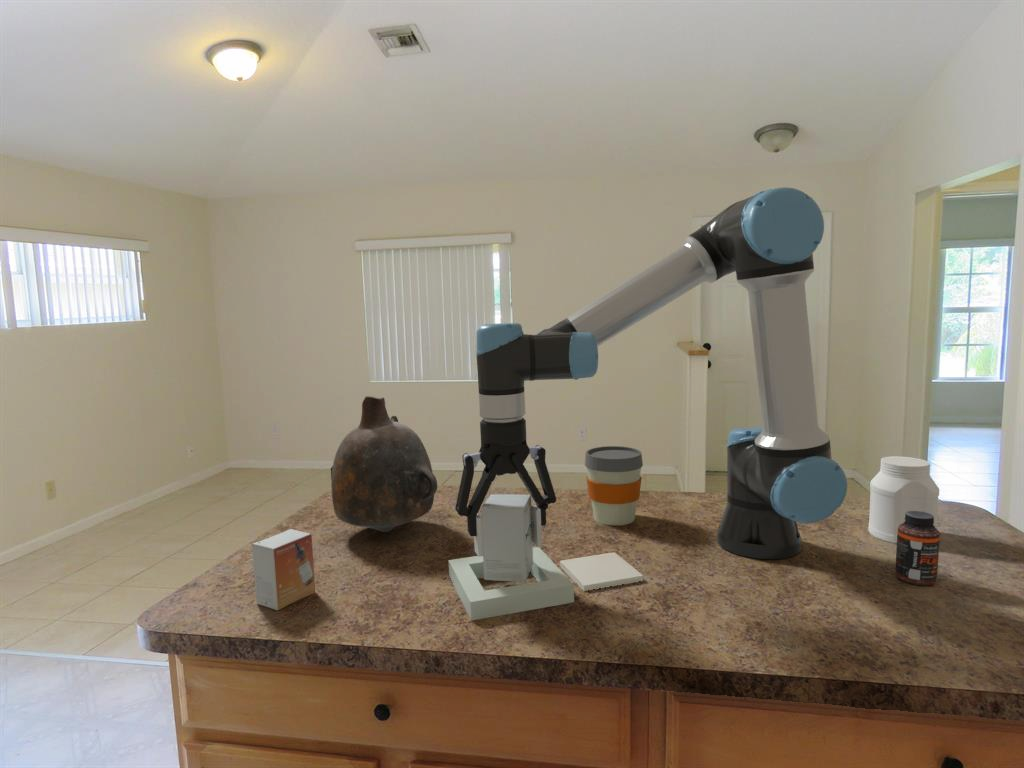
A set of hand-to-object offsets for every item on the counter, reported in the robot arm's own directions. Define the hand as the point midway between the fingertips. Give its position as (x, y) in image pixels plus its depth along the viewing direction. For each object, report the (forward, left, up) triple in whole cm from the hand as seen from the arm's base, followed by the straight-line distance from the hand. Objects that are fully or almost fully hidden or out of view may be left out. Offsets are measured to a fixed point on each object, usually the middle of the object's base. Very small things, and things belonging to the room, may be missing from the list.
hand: (508, 548), depth 106 cm
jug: (+17, -36, -7) cm, 41 cm away
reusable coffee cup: (-32, -25, -7) cm, 41 cm away
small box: (+36, -10, -7) cm, 38 cm away
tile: (-17, 0, -7) cm, 18 cm away
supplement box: (0, 0, -4) cm, 4 cm away
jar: (-80, +5, -7) cm, 80 cm away
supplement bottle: (-65, +21, -7) cm, 68 cm away
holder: (0, 0, -7) cm, 7 cm away
